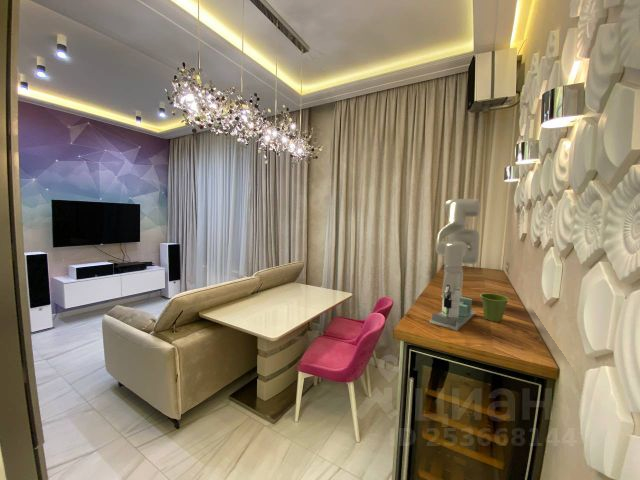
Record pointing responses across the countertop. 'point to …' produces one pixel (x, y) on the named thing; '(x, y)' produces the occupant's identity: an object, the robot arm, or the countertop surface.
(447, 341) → the countertop surface
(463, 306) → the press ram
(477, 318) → the countertop surface
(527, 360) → the countertop surface
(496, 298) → the plant pot
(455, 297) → the syrup box
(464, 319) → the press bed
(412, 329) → the countertop surface
